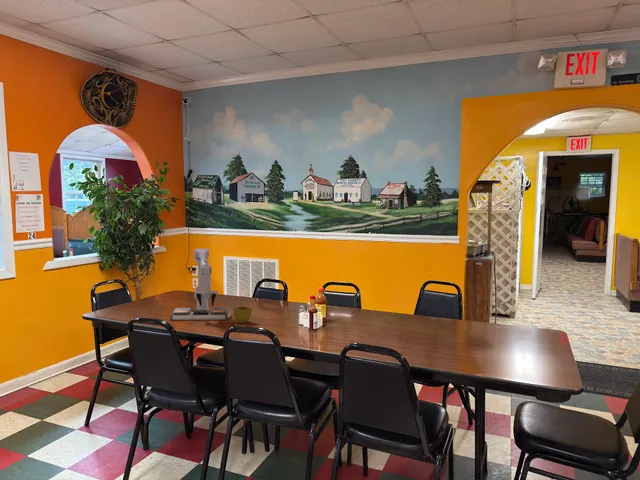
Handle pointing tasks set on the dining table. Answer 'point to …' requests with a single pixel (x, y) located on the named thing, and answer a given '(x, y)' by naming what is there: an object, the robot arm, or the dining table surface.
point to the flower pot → (242, 314)
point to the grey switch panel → (200, 316)
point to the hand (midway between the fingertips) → (206, 305)
